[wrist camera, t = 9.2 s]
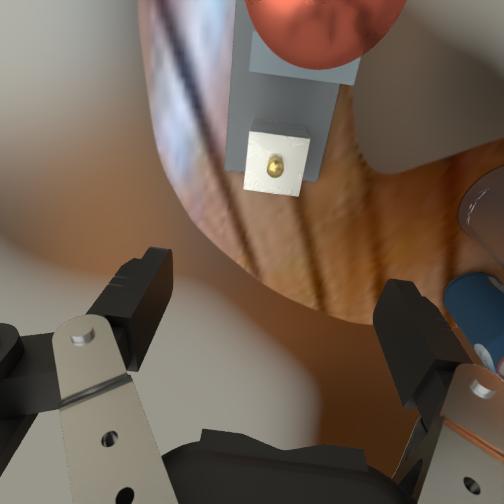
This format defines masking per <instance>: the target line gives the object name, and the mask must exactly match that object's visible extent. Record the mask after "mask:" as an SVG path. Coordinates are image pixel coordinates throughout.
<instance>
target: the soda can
mask: <svg viewBox="0 0 504 504" xmlns="http://www.w3.org/2000/svg"><path fill="white" fill-rule="evenodd" d="M444 305H445V307H446V309H447V310H448V312H449V313H450V315H451V316H452V318H453V319H454V321H455V322H456V324H457V325H458V327H459V328H460V329H461V331H462V332H463V334H464V335H465V337H466V338H467V340H468V341H469V342H470V344H471V345H472V347H473V349H474V350H475V351H476V353H477V354H478V356H479V357H480V359H481V360H482V361H483V363H484V364H485V366H486V367H488V368H489V369H491V370H492V371H494V372H496V373H498V374H499V376H500V377H501V378H503V379H504V284H503V283H502V282H501V281H500V280H499V279H498V278H497V277H495V276H493V275H490V274H485V273H479V272H470V273H465V274H462V275H460V276H458V277H456V278H454V279H453V280H452V281H451V282H450V283H449V284H448V285H447V287H446V289H445V293H444Z"/></svg>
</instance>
